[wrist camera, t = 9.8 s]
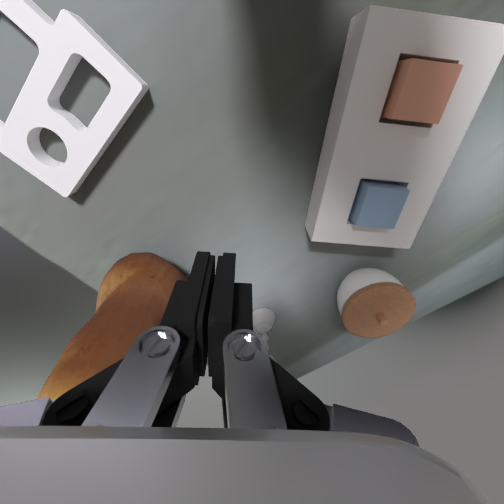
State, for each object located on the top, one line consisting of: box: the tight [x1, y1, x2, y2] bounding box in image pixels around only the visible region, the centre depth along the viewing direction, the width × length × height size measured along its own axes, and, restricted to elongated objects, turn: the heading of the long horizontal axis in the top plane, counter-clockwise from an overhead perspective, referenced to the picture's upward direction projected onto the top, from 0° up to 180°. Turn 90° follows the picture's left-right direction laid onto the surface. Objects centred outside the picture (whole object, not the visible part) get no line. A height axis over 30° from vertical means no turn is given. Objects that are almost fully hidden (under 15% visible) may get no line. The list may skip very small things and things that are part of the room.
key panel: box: [305, 5, 504, 249], centre depth 32 cm, size 24×14×5 cm, turn 174°
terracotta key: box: [380, 58, 463, 124], centre depth 27 cm, size 5×5×3 cm
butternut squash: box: [38, 253, 189, 400], centre depth 33 cm, size 14×13×25 cm
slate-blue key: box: [349, 179, 410, 229], centre depth 33 cm, size 5×5×3 cm
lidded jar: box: [337, 268, 416, 338], centre depth 42 cm, size 11×11×9 cm
